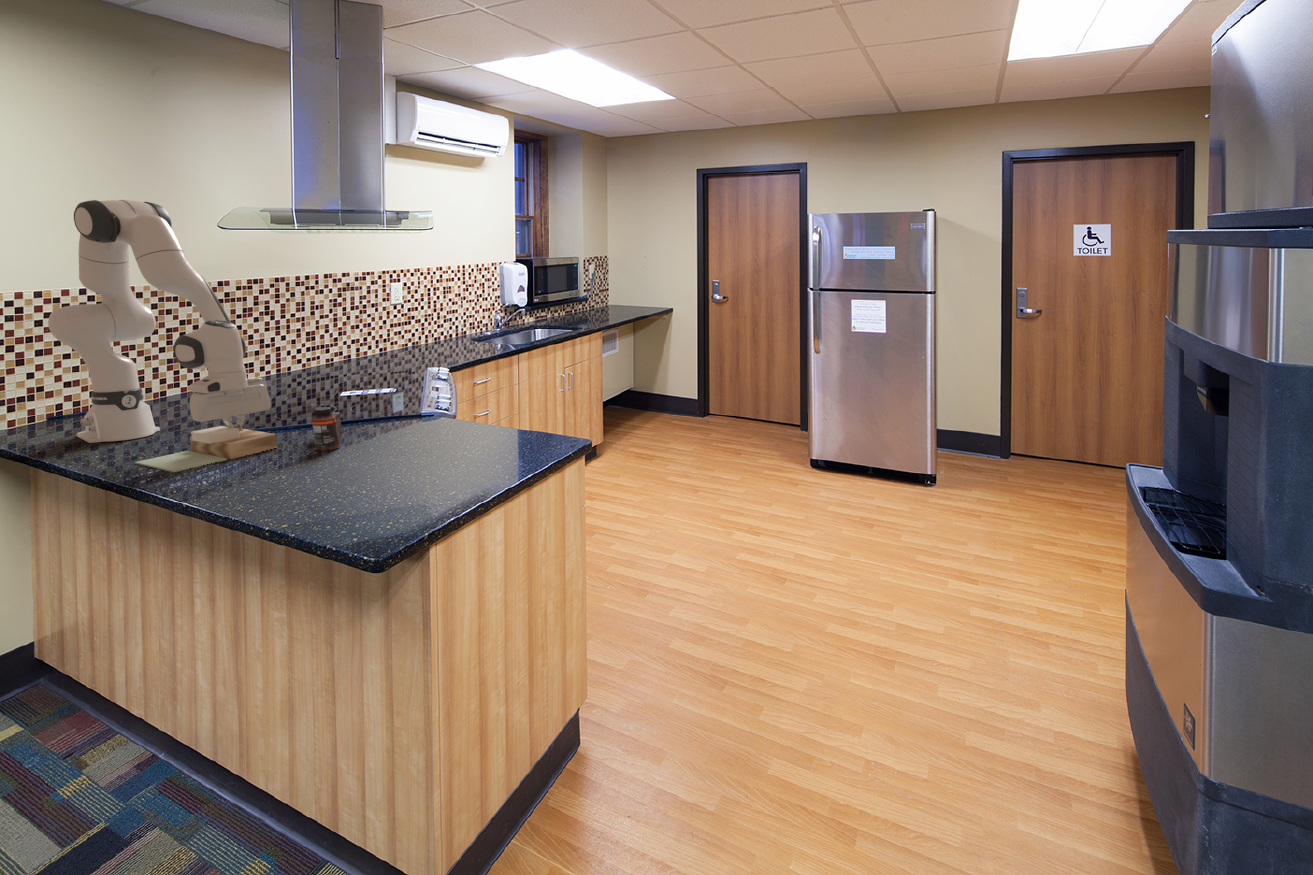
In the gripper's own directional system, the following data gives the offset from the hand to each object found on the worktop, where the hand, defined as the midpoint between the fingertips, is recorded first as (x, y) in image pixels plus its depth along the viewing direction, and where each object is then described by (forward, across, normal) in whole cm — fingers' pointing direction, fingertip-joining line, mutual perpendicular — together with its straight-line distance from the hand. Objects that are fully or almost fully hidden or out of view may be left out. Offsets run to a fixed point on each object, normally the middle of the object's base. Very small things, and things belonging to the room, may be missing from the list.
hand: (236, 431), depth 195 cm
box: (+5, -19, +12) cm, 23 cm away
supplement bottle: (+5, -11, +22) cm, 25 cm away
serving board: (+5, +1, 0) cm, 5 cm away
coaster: (+1, +6, 0) cm, 6 cm away
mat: (+5, +15, 0) cm, 16 cm away
